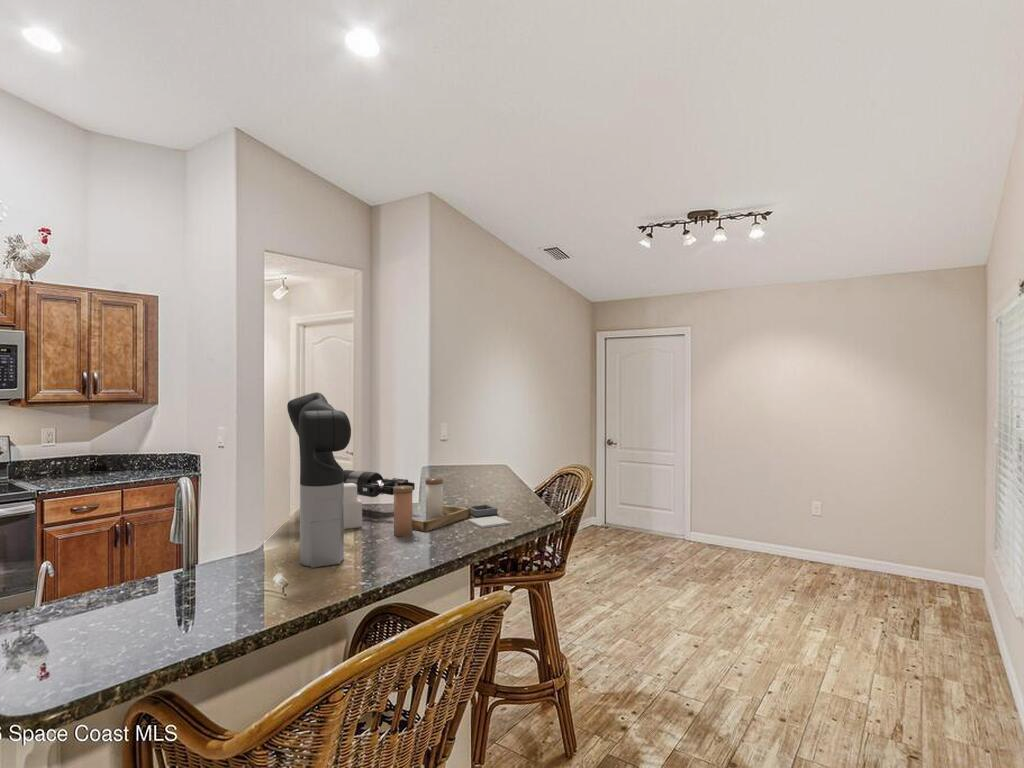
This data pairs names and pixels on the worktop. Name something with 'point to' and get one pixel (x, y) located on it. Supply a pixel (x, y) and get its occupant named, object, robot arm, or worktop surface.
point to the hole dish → (482, 510)
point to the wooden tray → (442, 518)
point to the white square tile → (489, 521)
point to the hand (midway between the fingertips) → (404, 488)
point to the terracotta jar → (402, 510)
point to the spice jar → (434, 497)
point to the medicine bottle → (352, 506)
